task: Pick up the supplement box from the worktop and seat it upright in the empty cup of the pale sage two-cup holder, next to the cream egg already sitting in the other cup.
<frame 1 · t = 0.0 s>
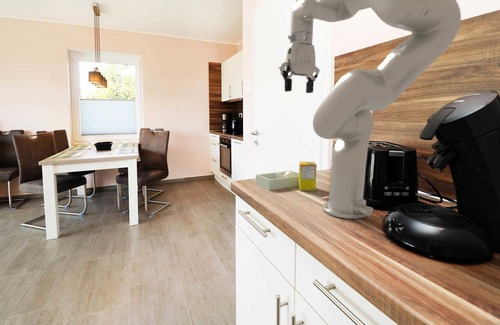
hand: (299, 92, 93), 37 cm above the countertop, tool pointing down, fingers open, 9 cm apart
egg: (289, 183, 109), point 1 cm above the countertop, touching holder
holder: (280, 185, 107), on the countertop
supplement box: (306, 191, 101), on the countertop
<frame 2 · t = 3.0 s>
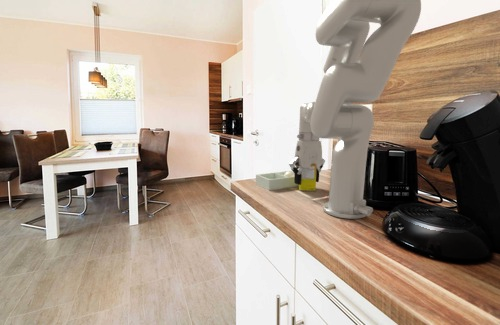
hand: (306, 182, 101), 3 cm above the countertop, tool pointing down, fingers closed on supplement box, 8 cm apart
supplement box: (306, 191, 101), on the countertop, touching gripper
everything else where it was.
when the fingers open (6 cm above the countertop, at t = 8.9 s): supplement box drops 2 cm, resting on holder.
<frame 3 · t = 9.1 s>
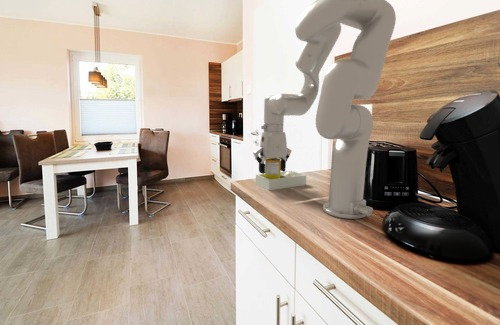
hand: (272, 171, 104), 6 cm above the countertop, tool pointing down, fingers open, 9 cm apart
supplement box: (272, 186, 105), resting on holder
everything else where it was.
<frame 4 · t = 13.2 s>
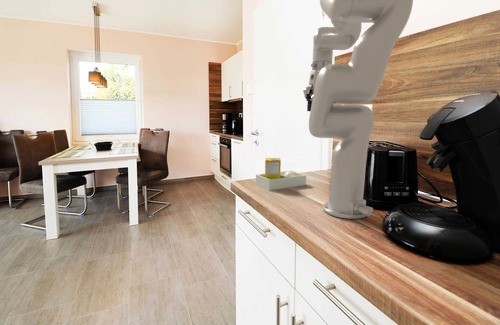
hand: (319, 111, 107), 30 cm above the countertop, tool pointing down, fingers open, 9 cm apart
nothing on the countertop moved.
at the end: supplement box 0.2 cm from the target spot on the holder, point 0.4 cm above the holder's base; supplement box tilted 0°; the gripper is holding nothing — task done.
